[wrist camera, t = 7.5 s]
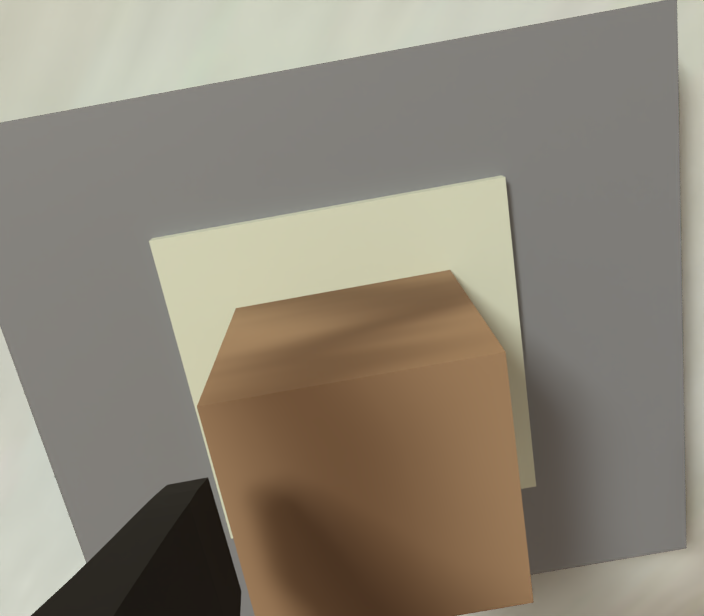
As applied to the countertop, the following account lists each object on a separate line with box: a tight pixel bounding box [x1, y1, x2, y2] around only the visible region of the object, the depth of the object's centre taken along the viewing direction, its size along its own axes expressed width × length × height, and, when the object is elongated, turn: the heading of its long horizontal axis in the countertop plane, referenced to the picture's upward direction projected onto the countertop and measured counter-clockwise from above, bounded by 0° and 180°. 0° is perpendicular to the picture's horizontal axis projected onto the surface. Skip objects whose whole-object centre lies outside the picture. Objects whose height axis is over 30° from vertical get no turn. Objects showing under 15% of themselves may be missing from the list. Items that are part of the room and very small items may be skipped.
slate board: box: [0, 0, 686, 616], centre depth 17 cm, size 16×14×3 cm
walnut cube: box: [197, 270, 533, 616], centre depth 14 cm, size 5×5×5 cm
